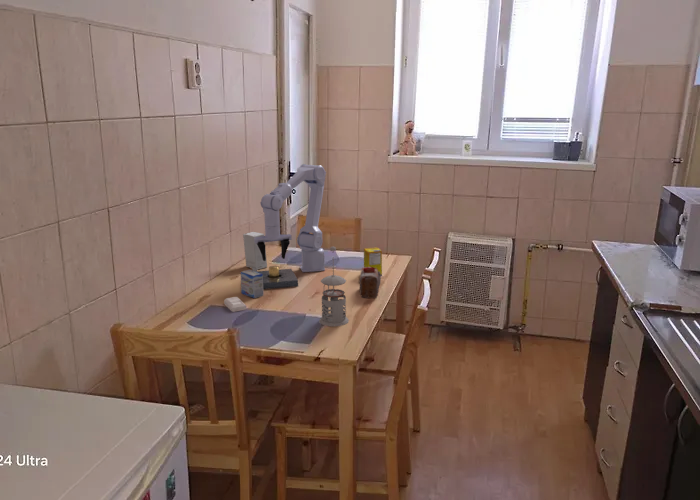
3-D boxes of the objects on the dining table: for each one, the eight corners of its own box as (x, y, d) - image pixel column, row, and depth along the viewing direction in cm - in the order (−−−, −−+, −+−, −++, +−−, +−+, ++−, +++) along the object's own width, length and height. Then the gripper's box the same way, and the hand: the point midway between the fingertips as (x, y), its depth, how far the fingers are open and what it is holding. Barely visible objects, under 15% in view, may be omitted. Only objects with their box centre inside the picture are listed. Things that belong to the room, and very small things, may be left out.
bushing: (278, 279, 227) (277, 265, 225) (280, 282, 223) (280, 268, 222) (268, 280, 225) (267, 266, 224) (270, 283, 222) (270, 269, 220)
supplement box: (376, 272, 236) (376, 247, 233) (382, 276, 230) (382, 250, 228) (363, 273, 234) (363, 248, 231) (368, 277, 229) (368, 251, 226)
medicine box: (241, 294, 210) (239, 271, 208) (250, 291, 214) (249, 269, 211) (254, 298, 205) (253, 276, 203) (264, 295, 208) (262, 273, 206)
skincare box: (267, 267, 243) (265, 233, 240) (255, 270, 239) (254, 236, 236) (256, 263, 249) (254, 230, 245) (244, 266, 245) (242, 233, 241)
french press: (325, 328, 178) (323, 251, 172) (312, 316, 189) (311, 243, 182) (353, 323, 182) (353, 248, 176) (339, 311, 192) (339, 240, 186)
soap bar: (237, 302, 203) (237, 295, 202) (246, 310, 195) (246, 303, 194) (224, 305, 200) (224, 298, 199) (232, 313, 193) (232, 305, 192)
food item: (359, 286, 218) (359, 262, 216) (380, 286, 218) (380, 262, 216) (358, 298, 205) (358, 272, 203) (380, 298, 205) (381, 272, 202)
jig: (291, 274, 234) (291, 263, 232) (298, 286, 219) (297, 275, 217) (252, 277, 230) (251, 267, 228) (256, 290, 215) (255, 278, 213)
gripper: (287, 221, 224) (288, 254, 228) (251, 224, 219) (253, 258, 223) (292, 225, 218) (293, 259, 222) (255, 228, 213) (257, 263, 216)
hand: (273, 259), depth 222 cm, fingers open, 7 cm apart
